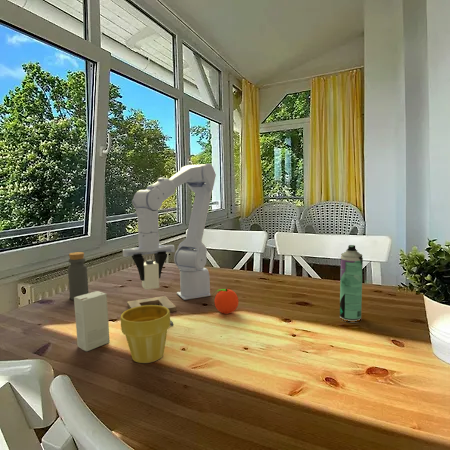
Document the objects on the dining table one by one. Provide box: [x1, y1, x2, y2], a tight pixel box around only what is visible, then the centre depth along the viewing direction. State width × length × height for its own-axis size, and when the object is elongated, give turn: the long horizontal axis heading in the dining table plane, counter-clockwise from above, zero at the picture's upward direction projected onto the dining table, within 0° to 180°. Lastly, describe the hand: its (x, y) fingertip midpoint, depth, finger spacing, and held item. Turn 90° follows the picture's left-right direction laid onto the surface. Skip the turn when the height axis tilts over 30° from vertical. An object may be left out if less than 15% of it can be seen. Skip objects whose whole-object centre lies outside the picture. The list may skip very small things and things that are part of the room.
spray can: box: [339, 244, 364, 321], centre depth 95 cm, size 6×6×20 cm
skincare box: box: [73, 290, 110, 352], centre depth 82 cm, size 6×4×12 cm
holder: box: [126, 295, 177, 313], centre depth 107 cm, size 12×12×1 cm
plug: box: [141, 259, 160, 291], centre depth 102 cm, size 4×4×8 cm
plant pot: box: [120, 304, 171, 364], centre depth 76 cm, size 10×10×10 cm
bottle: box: [67, 251, 89, 301], centre depth 118 cm, size 6×6×15 cm
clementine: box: [214, 288, 240, 315], centre depth 102 cm, size 8×7×7 cm
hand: (150, 278), depth 102 cm, fingers closed on plug, 4 cm apart
